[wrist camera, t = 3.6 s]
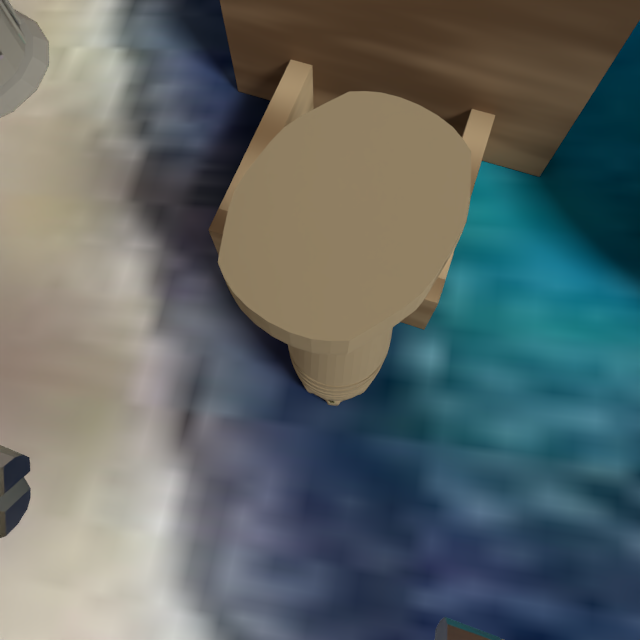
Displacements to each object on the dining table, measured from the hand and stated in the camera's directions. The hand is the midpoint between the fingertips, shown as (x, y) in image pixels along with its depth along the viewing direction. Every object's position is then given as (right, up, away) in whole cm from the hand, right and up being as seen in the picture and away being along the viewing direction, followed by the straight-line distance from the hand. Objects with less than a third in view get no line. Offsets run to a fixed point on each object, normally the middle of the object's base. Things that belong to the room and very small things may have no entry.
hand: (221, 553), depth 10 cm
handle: (+3, +2, +16) cm, 17 cm away
